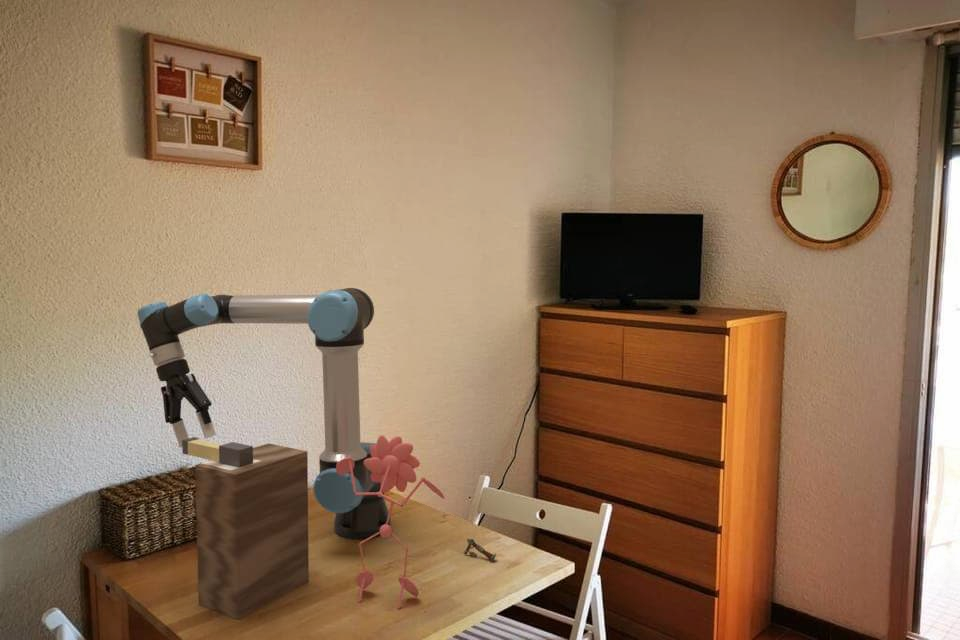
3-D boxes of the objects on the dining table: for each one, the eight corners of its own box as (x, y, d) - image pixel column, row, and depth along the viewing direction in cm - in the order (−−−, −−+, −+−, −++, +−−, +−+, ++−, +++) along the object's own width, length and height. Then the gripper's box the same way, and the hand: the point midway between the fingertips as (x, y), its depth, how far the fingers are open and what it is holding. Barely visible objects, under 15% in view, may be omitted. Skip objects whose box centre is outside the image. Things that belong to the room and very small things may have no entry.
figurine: (434, 617, 150) (437, 449, 147) (322, 598, 158) (323, 437, 155) (459, 586, 164) (462, 432, 162) (356, 570, 172) (356, 423, 169)
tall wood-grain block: (308, 581, 165) (307, 450, 162) (238, 619, 148) (235, 473, 145) (270, 569, 171) (268, 442, 168) (198, 604, 154) (195, 463, 151)
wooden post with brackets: (463, 549, 182) (470, 535, 180) (489, 568, 179) (496, 553, 178) (459, 552, 180) (466, 537, 179) (486, 571, 177) (493, 556, 176)
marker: (253, 463, 152) (252, 446, 152) (239, 467, 149) (239, 450, 149) (195, 450, 161) (194, 434, 161) (181, 453, 158) (180, 437, 158)
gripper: (135, 377, 192) (162, 454, 191) (179, 353, 176) (208, 437, 175) (162, 370, 197) (188, 444, 197) (207, 346, 181) (235, 428, 181)
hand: (197, 441), depth 186 cm, fingers open, 13 cm apart
